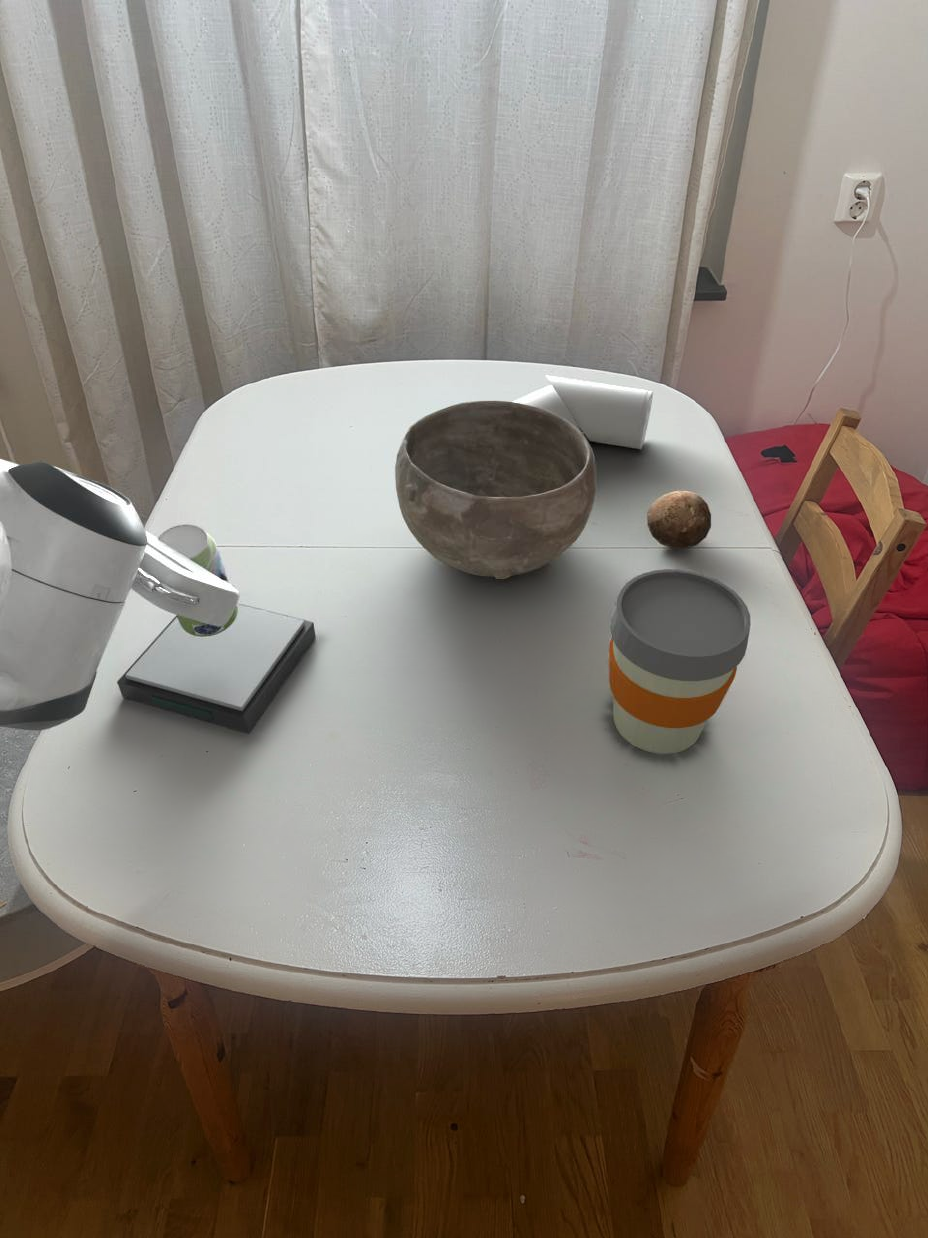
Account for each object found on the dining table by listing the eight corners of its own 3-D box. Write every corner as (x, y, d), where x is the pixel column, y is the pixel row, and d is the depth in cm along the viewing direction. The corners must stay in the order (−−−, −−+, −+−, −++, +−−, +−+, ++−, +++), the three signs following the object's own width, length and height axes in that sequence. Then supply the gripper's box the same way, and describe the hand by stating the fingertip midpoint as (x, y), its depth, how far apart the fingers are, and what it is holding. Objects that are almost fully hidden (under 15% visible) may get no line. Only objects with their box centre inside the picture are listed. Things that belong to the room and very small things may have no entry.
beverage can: (242, 601, 92) (221, 509, 84) (235, 648, 87) (212, 555, 79) (183, 605, 92) (156, 512, 84) (172, 652, 86) (142, 558, 78)
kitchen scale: (122, 698, 89) (114, 678, 87) (200, 608, 100) (195, 588, 98) (248, 734, 86) (243, 715, 84) (316, 637, 96) (313, 617, 94)
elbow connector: (577, 391, 138) (487, 432, 128) (595, 334, 129) (500, 373, 119) (658, 454, 131) (570, 503, 121) (683, 398, 123) (590, 446, 113)
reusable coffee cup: (626, 781, 82) (649, 671, 72) (577, 689, 91) (592, 580, 80) (742, 752, 84) (781, 643, 74) (683, 665, 93) (711, 557, 83)
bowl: (479, 639, 96) (481, 531, 86) (358, 539, 110) (348, 436, 100) (625, 555, 108) (642, 452, 98) (498, 474, 121) (502, 376, 111)
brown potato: (664, 487, 113) (677, 470, 107) (713, 522, 113) (729, 508, 106) (629, 532, 112) (640, 518, 106) (679, 569, 111) (692, 557, 105)
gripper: (179, 559, 68) (290, 592, 80) (43, 470, 77) (160, 512, 90) (145, 630, 68) (260, 652, 80) (14, 532, 78) (134, 566, 90)
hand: (206, 578), depth 85 cm, fingers closed on beverage can, 5 cm apart
